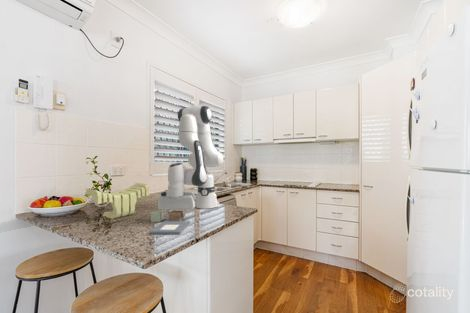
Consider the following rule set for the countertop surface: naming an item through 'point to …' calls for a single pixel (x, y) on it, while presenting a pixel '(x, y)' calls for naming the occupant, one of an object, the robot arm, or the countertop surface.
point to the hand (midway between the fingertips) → (176, 217)
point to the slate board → (170, 227)
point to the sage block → (157, 216)
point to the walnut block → (176, 215)
